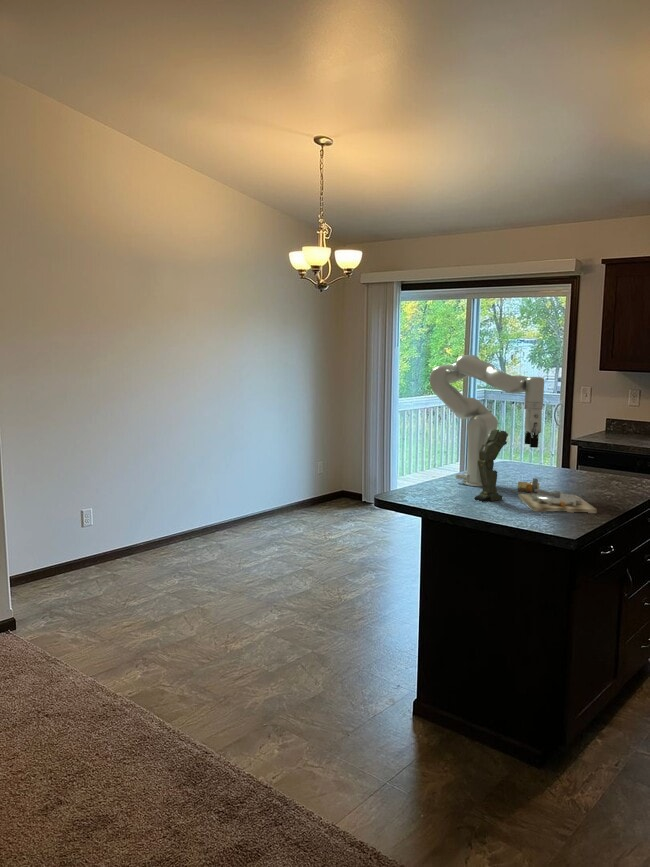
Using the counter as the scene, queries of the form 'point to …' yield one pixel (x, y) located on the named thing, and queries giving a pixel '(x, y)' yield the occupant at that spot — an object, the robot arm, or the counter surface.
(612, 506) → the counter surface
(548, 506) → the sprocket plate
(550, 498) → the sprocket
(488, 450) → the mechanical leg
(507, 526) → the counter surface
